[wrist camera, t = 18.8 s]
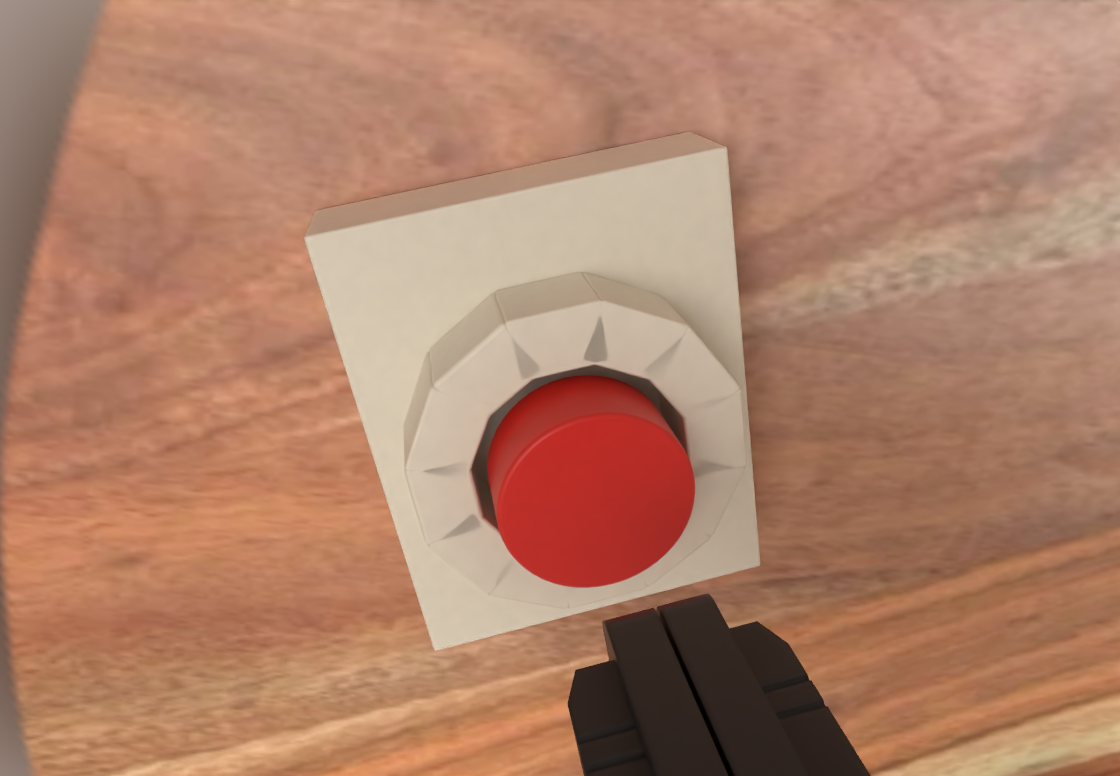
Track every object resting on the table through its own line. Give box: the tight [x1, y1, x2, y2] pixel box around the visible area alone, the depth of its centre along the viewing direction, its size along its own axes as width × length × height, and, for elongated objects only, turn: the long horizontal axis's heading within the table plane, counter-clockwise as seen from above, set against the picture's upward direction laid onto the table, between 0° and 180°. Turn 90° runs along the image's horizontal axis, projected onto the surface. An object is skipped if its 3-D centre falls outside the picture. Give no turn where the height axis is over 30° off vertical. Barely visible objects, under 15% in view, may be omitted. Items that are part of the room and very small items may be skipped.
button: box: [487, 375, 695, 588], centre depth 15 cm, size 4×4×2 cm
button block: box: [304, 132, 760, 651], centre depth 18 cm, size 10×8×4 cm
